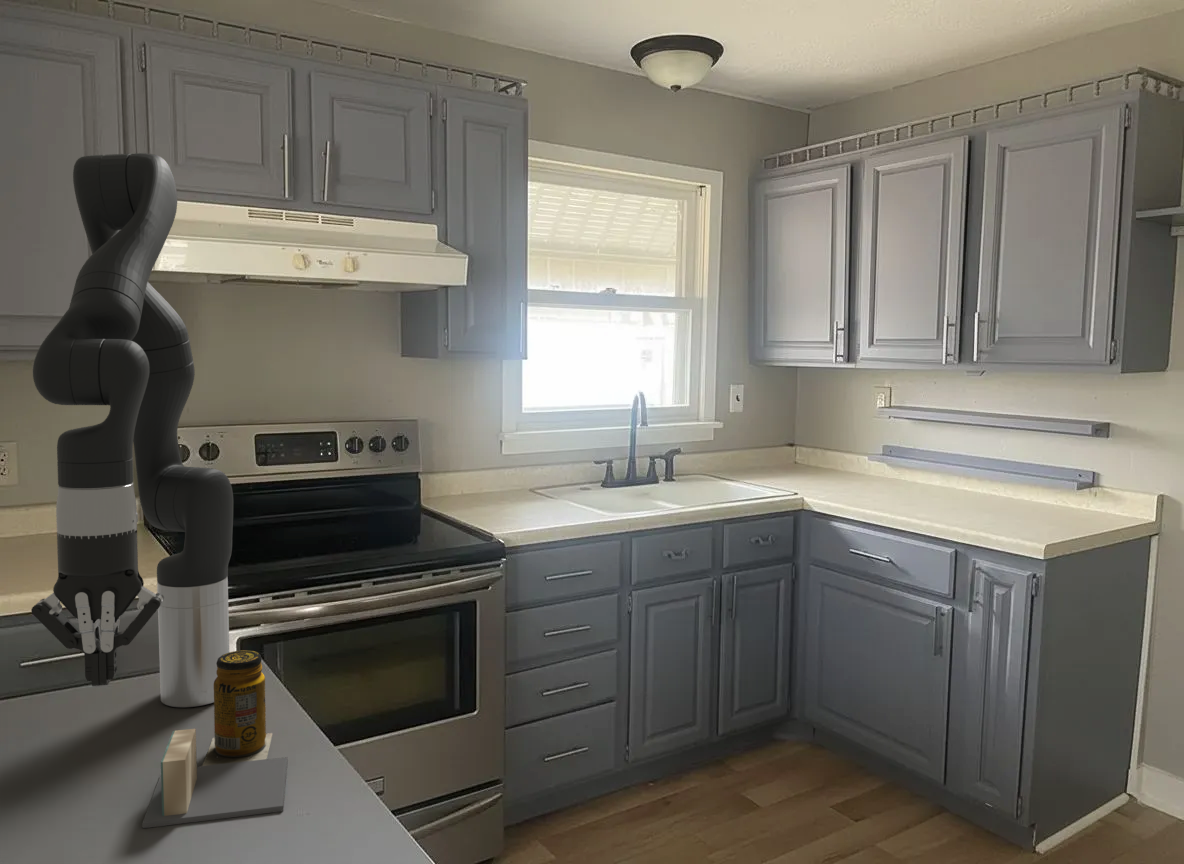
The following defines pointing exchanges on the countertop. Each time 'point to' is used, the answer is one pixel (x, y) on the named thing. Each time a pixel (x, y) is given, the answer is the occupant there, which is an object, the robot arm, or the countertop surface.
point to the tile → (178, 772)
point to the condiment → (239, 710)
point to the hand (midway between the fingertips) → (102, 683)
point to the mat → (227, 792)
